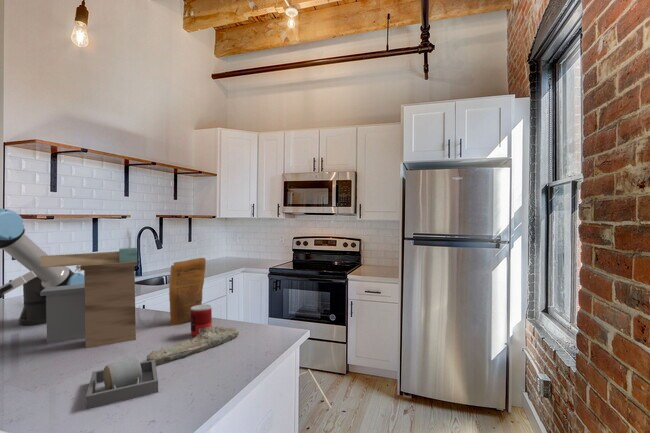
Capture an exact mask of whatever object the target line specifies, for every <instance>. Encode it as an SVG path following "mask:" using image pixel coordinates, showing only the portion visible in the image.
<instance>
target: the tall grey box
mask: <svg viewBox="0 0 650 433" xmlns="http://www.w3.org/2000/svg"><path fill="white" fill-rule="evenodd" d="M45 295H46V320H47V323H46V344H47V345H48V344H54V343H60V342H61V343H62V342H66V341H67V342H68V341H72V340H74V341H75V340H79V339H86V334H85V284H78V285H67V286H57V287H46V288H45V289H44V290H42V291H41V292H40V296H45Z"/></svg>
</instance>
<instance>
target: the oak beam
mask: <svg viewBox="0 0 650 433" xmlns="http://www.w3.org/2000/svg"><path fill="white" fill-rule="evenodd" d="M136 261H137V262H138V247H126V248H125V247H124V248H122V247H121V248H119V250H118V251H104V252H84V253H68V254H54V255H52V254H50V255H48V254H47V256H40V264H41V268H46V267H60V266H66V267H71V266H73V267H74V266H77V265H88V264H102V263H117V262H119V263H122V262H136Z"/></svg>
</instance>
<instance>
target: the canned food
mask: <svg viewBox="0 0 650 433" xmlns="http://www.w3.org/2000/svg"><path fill="white" fill-rule="evenodd" d="M212 311H213V310H212V305H211V304H202V305H197V306H193V307H191V322H190V334H191V337H192V338H194V337H196V336H197V335H198V334H201V333H202V332H204V330H205V329H206V328H207V327H211V328H213V324H212V323H213V321H212V320H213V318H212V317H213V315H212Z"/></svg>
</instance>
